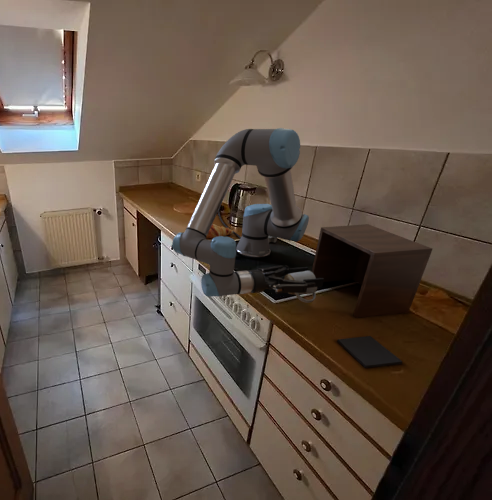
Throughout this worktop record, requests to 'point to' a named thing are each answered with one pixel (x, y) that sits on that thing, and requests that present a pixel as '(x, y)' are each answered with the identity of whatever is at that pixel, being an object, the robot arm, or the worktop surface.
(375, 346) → the mat
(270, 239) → the egg carton
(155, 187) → the worktop surface
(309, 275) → the ceramic mug
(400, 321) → the worktop surface
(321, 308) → the worktop surface
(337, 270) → the cupboard
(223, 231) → the croissant
